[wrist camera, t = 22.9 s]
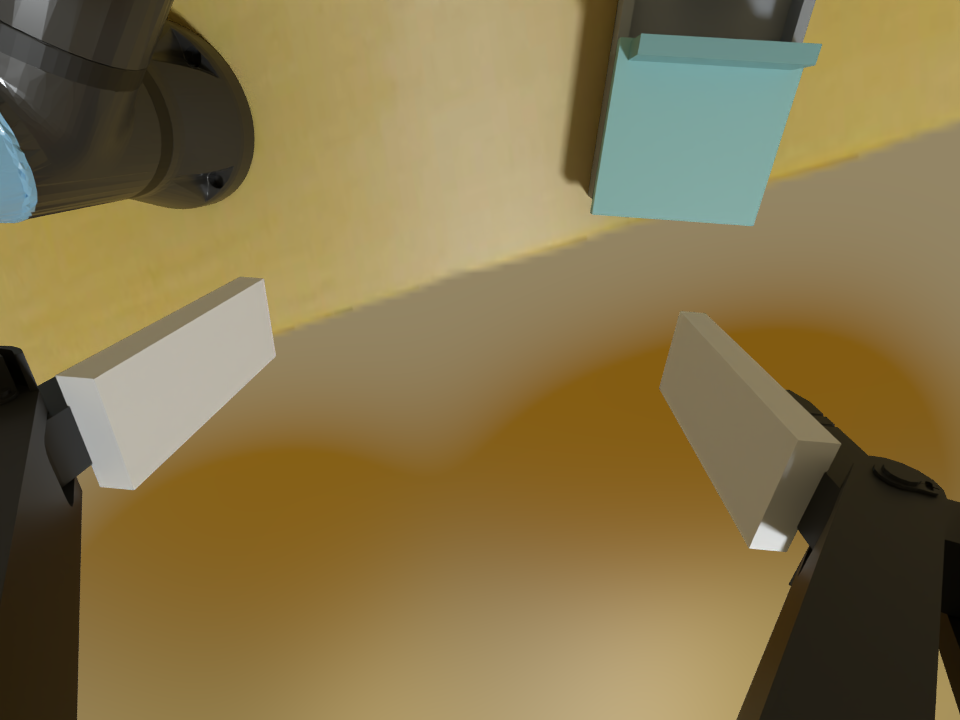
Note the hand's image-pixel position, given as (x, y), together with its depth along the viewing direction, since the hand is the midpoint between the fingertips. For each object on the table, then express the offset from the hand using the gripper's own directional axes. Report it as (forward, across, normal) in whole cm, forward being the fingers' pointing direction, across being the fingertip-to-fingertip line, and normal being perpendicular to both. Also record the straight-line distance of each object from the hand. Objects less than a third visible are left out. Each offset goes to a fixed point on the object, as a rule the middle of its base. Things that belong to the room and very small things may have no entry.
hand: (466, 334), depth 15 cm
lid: (+29, +15, +6) cm, 33 cm away
